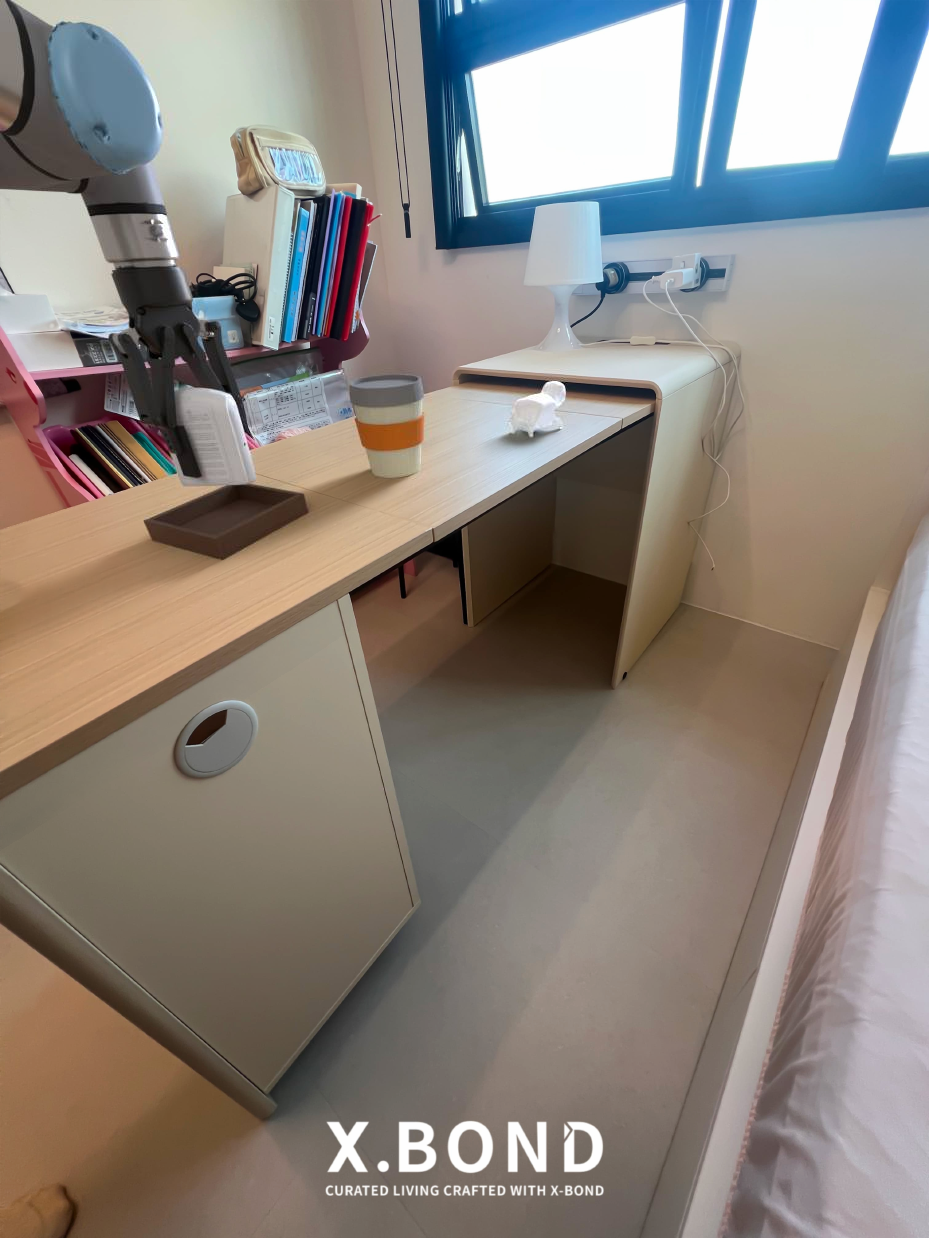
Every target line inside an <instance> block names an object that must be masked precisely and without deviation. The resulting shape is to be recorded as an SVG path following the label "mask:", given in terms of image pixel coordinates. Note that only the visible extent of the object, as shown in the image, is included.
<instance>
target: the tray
mask: <svg viewBox="0 0 929 1238" xmlns="http://www.w3.org/2000/svg"><path fill="white" fill-rule="evenodd" d="M307 514H309V509H308V505H307V501H306V496H305V493H303V492H299V491H293V490H287V489H282V488H276V487H271V486H265V485H260V484H255V483H251V484H243V485H223V486H222V487H219V488H217V489H215V490H213V491H209V492H207V493H205V494H203V495H200V496H198V497H196V498H193V499H191V500H189V501H186V502H184V503H182V504H179V505H176V506H175V507H172V508H170V509H168V510H165V511H163V512H161V513H158V514H155V515H154V516H151V517H149V518H146V519H144V520H143V524H144V526H145V528H146V530H147V532H148V535H149V537H150V539H151V541H153V542H157V543H160V544H163V545H166V546H169V547H170V546H171V547H173V548H178V549H181V550H185V551H189V552H192V553H196V554H199V555H203V556H207V557H211V558H214V559H218V560H221V561H223V560H226V559H227V558H229V557H230V556H232V555H234V554H236V553H238V552H239V551H241V550H243V549H245V548H246V547H248V546H250V545H253V544H254V543H256V542H258V541H259V540H261V539H263V538H265V537H266V536H269V535H270V534H272V533H274V532H277V531H278V530H280V529H281V528H283V527H285V526H286V525H289V524H290V523H292V522H294V521H295V520H297V519H299V518H301V517H302V516H304V515H307Z"/></svg>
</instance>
